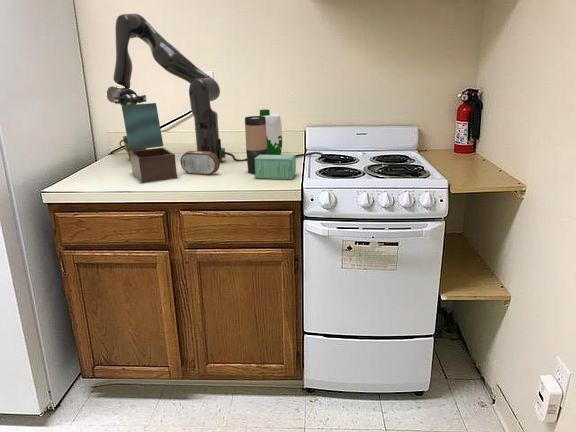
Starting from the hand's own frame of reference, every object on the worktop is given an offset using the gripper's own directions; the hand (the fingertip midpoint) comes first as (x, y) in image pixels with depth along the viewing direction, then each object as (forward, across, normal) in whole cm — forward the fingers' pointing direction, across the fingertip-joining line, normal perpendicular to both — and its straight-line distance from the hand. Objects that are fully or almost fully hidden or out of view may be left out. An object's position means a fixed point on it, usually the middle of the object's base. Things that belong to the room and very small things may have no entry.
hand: (135, 101), depth 190 cm
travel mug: (+34, +35, +26) cm, 55 cm away
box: (+45, +37, +26) cm, 64 cm away
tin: (+25, +16, +26) cm, 39 cm away
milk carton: (+16, +50, +26) cm, 58 cm away
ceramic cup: (-15, 0, +26) cm, 30 cm away
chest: (+19, 0, +26) cm, 32 cm away
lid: (+9, 0, +8) cm, 12 cm away
